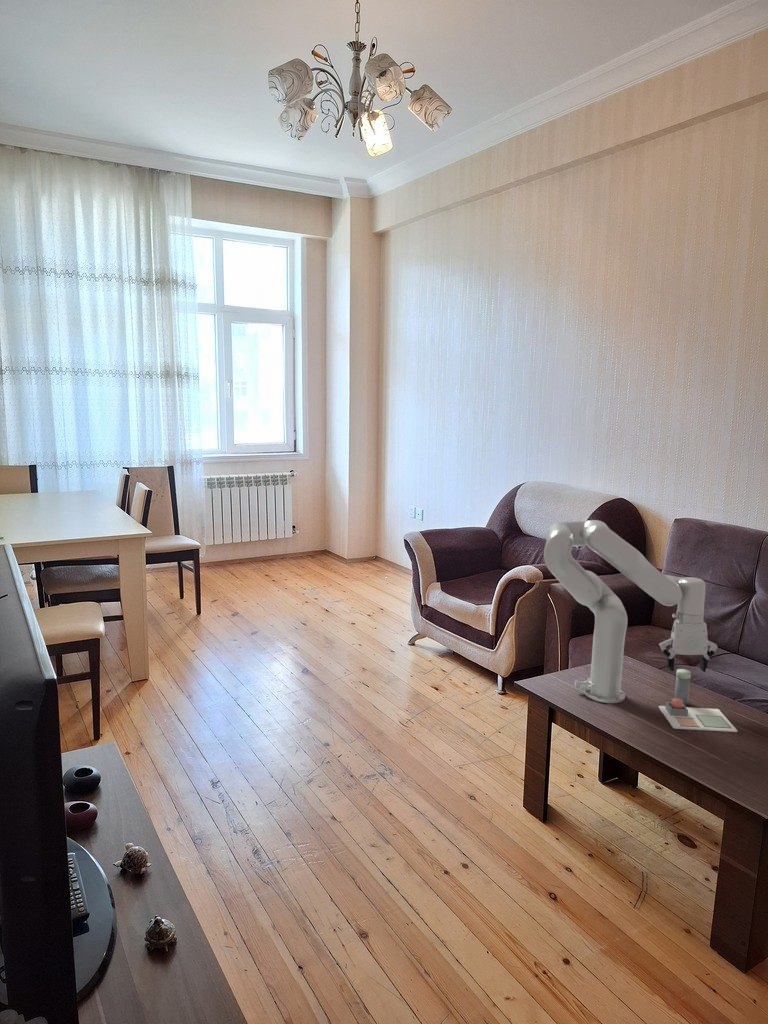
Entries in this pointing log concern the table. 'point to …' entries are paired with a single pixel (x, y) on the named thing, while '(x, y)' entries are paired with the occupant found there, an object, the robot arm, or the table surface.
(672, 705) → the button
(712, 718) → the picture board
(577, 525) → the robot arm
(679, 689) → the cylinder
